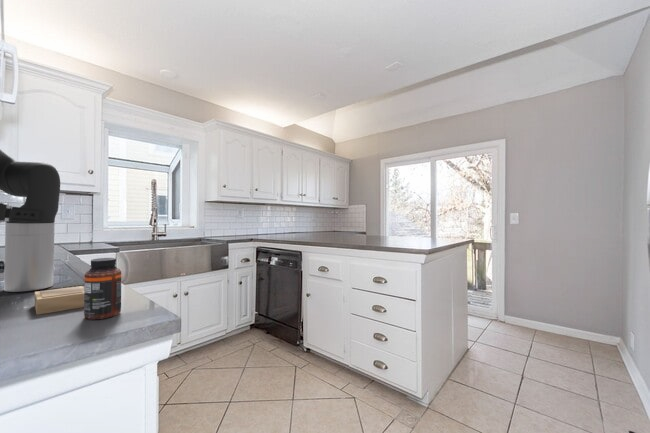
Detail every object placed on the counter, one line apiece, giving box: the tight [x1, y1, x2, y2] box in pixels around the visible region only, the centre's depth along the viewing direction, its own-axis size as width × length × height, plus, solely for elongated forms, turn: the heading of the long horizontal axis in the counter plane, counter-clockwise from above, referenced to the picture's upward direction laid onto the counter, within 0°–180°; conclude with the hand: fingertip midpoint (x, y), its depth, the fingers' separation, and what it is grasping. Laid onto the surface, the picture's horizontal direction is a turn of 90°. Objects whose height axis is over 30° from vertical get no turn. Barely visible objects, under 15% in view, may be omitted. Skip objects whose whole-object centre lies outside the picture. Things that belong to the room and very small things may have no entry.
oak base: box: [34, 285, 84, 315], centre depth 64 cm, size 8×8×3 cm
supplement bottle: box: [83, 257, 122, 321], centre depth 59 cm, size 6×6×11 cm
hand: (39, 216), depth 52 cm, fingers open, 8 cm apart
